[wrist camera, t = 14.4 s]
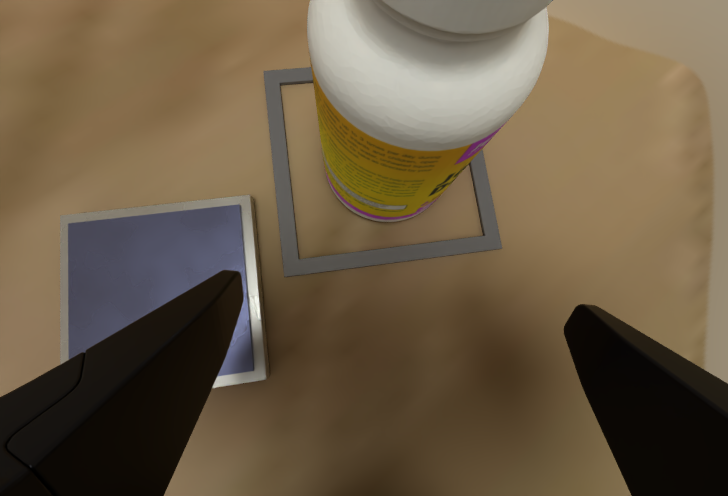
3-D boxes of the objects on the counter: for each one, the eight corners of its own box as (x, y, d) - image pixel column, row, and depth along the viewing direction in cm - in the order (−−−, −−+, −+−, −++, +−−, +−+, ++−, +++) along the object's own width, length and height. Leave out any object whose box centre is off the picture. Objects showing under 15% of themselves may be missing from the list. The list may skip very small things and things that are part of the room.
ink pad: (269, 375, 16) (265, 380, 15) (74, 405, 15) (56, 413, 14) (254, 199, 17) (248, 193, 16) (73, 219, 17) (56, 214, 16)
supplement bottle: (415, 245, 18) (601, 106, 5) (304, 193, 18) (202, -78, 5) (462, 141, 19) (711, -193, 6) (357, 92, 19) (384, -340, 6)
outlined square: (500, 248, 18) (502, 248, 18) (285, 277, 17) (284, 276, 17) (462, 57, 20) (463, 55, 19) (264, 73, 19) (263, 71, 18)
